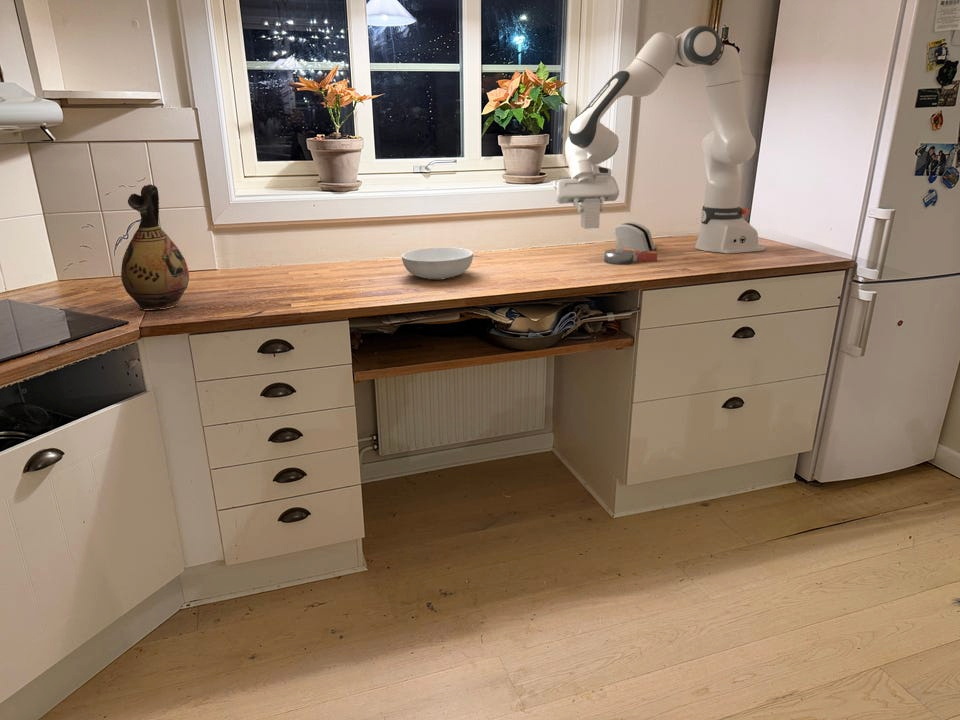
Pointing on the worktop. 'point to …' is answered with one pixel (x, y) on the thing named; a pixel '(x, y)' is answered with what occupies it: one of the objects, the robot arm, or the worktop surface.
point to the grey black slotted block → (635, 236)
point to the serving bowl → (437, 262)
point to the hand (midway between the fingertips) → (590, 211)
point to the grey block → (590, 213)
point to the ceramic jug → (152, 258)
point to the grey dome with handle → (627, 255)
